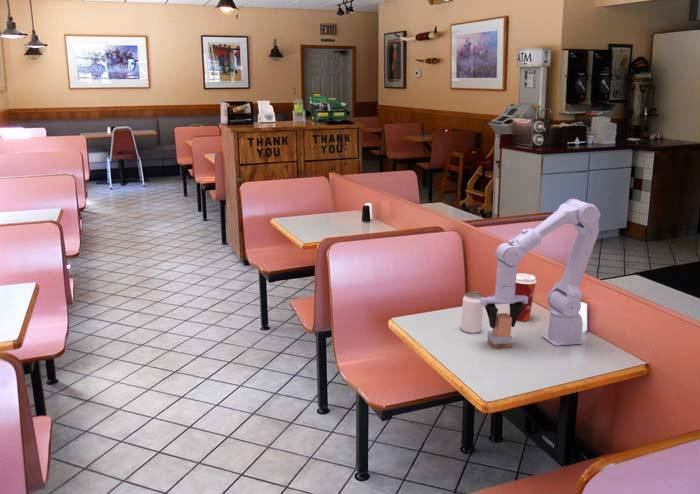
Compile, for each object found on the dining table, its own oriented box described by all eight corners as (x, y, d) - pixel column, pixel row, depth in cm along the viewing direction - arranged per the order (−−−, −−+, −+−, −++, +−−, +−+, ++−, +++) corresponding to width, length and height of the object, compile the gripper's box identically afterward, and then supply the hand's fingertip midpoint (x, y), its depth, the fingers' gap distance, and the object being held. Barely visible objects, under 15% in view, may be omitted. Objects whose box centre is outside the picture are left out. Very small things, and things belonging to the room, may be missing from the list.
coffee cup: (535, 323, 212) (540, 280, 208) (510, 322, 212) (514, 279, 208) (529, 314, 220) (533, 272, 216) (505, 313, 220) (509, 272, 216)
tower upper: (504, 336, 196) (504, 330, 196) (511, 343, 191) (511, 337, 190) (487, 337, 195) (487, 331, 195) (494, 344, 190) (494, 337, 190)
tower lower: (503, 342, 197) (504, 336, 196) (511, 349, 192) (512, 343, 191) (487, 343, 196) (487, 337, 195) (495, 350, 190) (495, 344, 190)
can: (476, 335, 201) (479, 299, 198) (457, 330, 204) (460, 295, 201) (484, 329, 206) (486, 293, 203) (465, 324, 209) (467, 290, 206)
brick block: (504, 331, 195) (506, 312, 193) (510, 336, 191) (512, 317, 190) (492, 332, 194) (493, 313, 192) (498, 337, 190) (499, 318, 189)
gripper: (521, 278, 194) (517, 320, 197) (477, 280, 191) (474, 323, 194) (533, 285, 187) (528, 328, 191) (487, 288, 184) (483, 331, 188)
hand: (501, 326), depth 192 cm, fingers open, 6 cm apart
